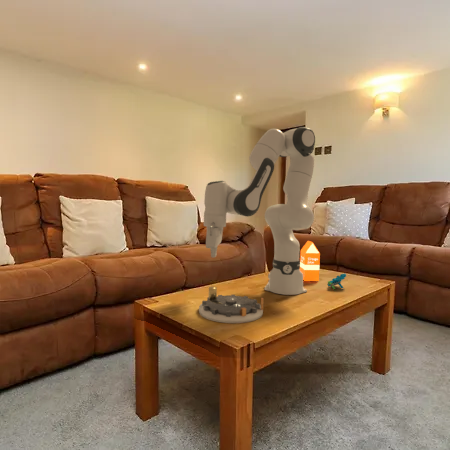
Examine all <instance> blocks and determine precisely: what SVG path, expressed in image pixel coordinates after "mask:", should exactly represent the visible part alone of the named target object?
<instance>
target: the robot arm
mask: <svg viewBox="0 0 450 450" xmlns="http://www.w3.org/2000/svg"><path fill="white" fill-rule="evenodd" d="M315 144H316V137H315V132H314V131H313V129H311V128H310V127H308V126H299V127H296V128H292V129H289V130H286V131H285V132H283V131H281V130H280V129H278V128H270V129H268V130H267V131H266V132H264V134H262V136H261V137H260V138H259V139H258V141H257V142H256V144H255V145H254V147H253V148H252V150H251V152H250V154H249V163H250V166H251V167H252V168H253V169H254V170H255V173H254V175H253V177H252V179H251V181H250V183H249V185H248V186H247V187H246V188H244V189H241V190H238V189H235V188H233V187H231V186H230V185H229V184H228V183H227V182H226V181H225V180H218V181H217V180H216V181H211V182H208V183H207V184H206V186H205V190H204V201H203V202H204V203H203V204H204V212H203V227H206V236H205V248H206V249H210V257H211V258H216V257H217V251H218V246H219V245H220V244H221V243H222V239H223V236H224V235H223V233H224V228H226V227H227V213H228V214H231V215H237V216H238V215H240V216H243V217H246V218H247V217H248V218H249V217H253V216H254V215H255V214H256V213H258V211H259V208H260V207H261V201H262V197H263V195H264V192H265V190H266V189H267V186H268V184H269V182H270V180H271V178H272V175H273V173H274V170H275V164H276V162H277V160H278V159H279V158H287V157H289V161H290V162H289V166H288V168H287V172H286V176H285V180H284V183H283V188H282V189H283V192H284V194H286V198H287V200H286V203H285V204H284V203H277V204H273V205H270V206H268V207H267V208H266V210H265V212H264V220H265V222H266V224H267V225H268V227H269V228H270V230H271V234H272V238H273V243H274V245H273V246H274V248H273V249H274V250H273V251H274V252H273V253H274V257H273V259H272V267H273V268H272V269H271V270H270V271H269V273H268V276H267V278H268V279H267V280H268V282H267V284H265V286H264V290H265V291H267V292H271V293H273V294H277V295H278V294H279V295H287V296H289V295H290V296H291V295H292V296H294V295H300V294H302V293H303V294H304V293H307V292H308V289H307V288H306V287H304V281H303V273H302V272H301V271H300V252H301V249H300V247H301V246H300V242H299V240H298V239H297V238H296V236H295V234H294V230H295V231H303V230H307V229H309V228H311V227H312V226H313V224H314V221H315V215H314V211H313V210H312V208H311V207H310V204H309V196H308V195H309V191H310V190H309V189H310V186H311V182H312V178H313V173H314V167H315V157H314V156H313V152H314V150H315V149H314V148H315V146H316V145H315Z"/></svg>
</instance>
